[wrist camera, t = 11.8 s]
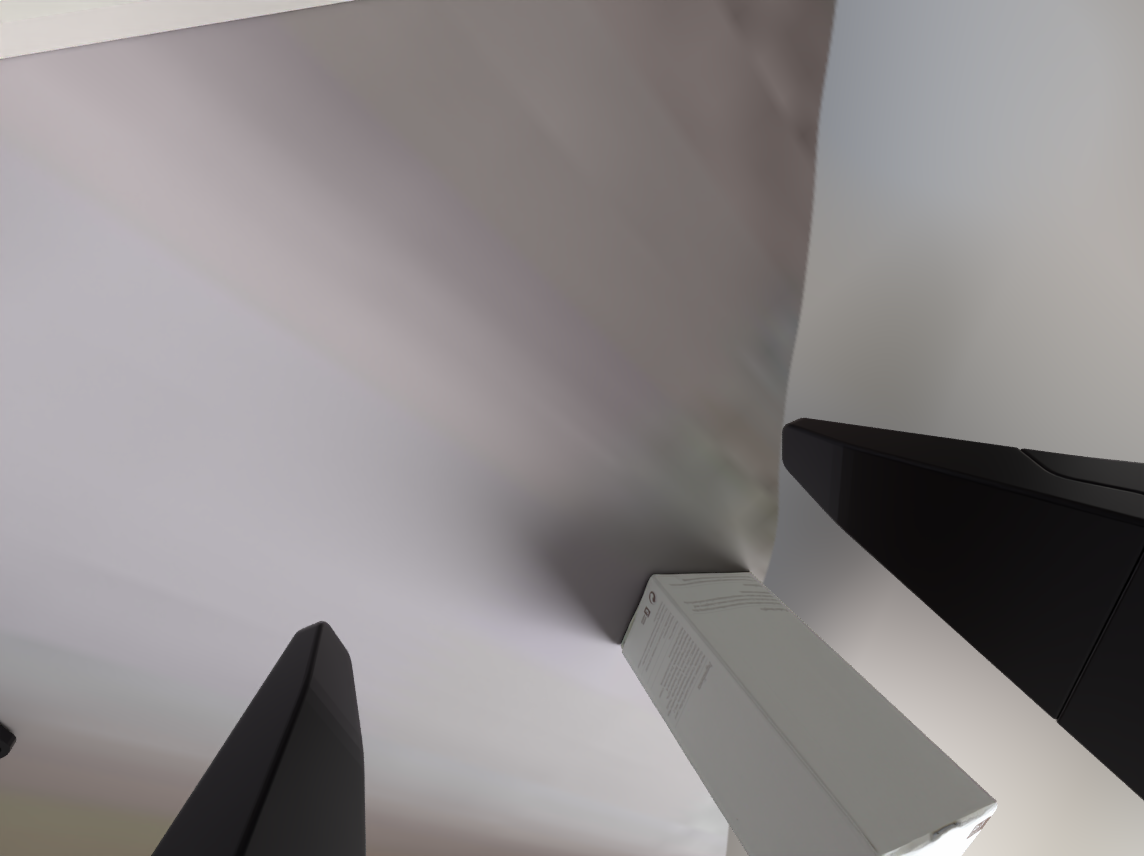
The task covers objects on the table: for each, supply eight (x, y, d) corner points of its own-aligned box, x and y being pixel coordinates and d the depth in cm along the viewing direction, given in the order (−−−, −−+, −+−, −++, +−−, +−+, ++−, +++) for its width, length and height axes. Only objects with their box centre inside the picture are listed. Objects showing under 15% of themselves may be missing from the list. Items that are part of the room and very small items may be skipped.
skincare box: (616, 647, 30) (797, 975, 18) (650, 565, 28) (881, 870, 16) (722, 638, 34) (934, 906, 21) (759, 566, 32) (1016, 814, 19)
